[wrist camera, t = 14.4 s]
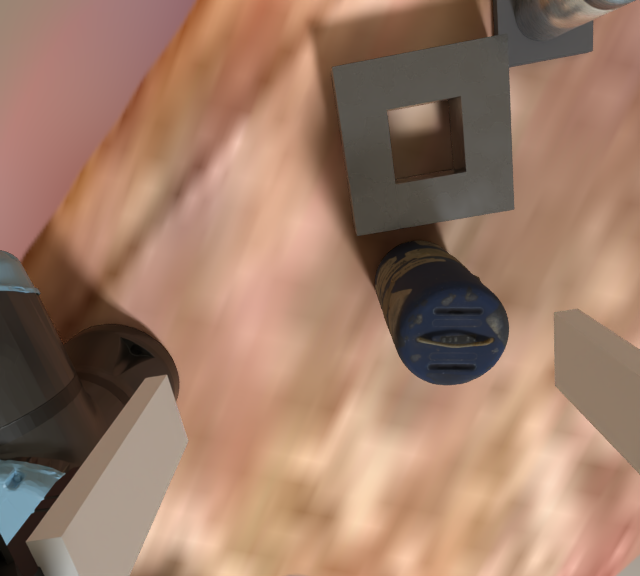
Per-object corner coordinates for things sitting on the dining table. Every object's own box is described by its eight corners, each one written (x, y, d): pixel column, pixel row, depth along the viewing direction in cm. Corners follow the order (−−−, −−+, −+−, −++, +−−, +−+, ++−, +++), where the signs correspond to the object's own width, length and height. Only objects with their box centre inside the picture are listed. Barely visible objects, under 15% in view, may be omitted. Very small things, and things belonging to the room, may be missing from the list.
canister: (387, 227, 51) (421, 273, 33) (466, 249, 51) (539, 304, 34) (363, 304, 53) (382, 382, 36) (438, 324, 54) (492, 409, 37)
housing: (354, 227, 50) (357, 236, 46) (331, 73, 46) (331, 67, 41) (497, 203, 50) (514, 209, 45) (489, 43, 45) (507, 33, 40)
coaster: (496, 69, 45) (499, 68, 44) (491, -34, 43) (495, -38, 42) (587, 52, 45) (592, 50, 44) (588, -53, 42) (594, -58, 41)
